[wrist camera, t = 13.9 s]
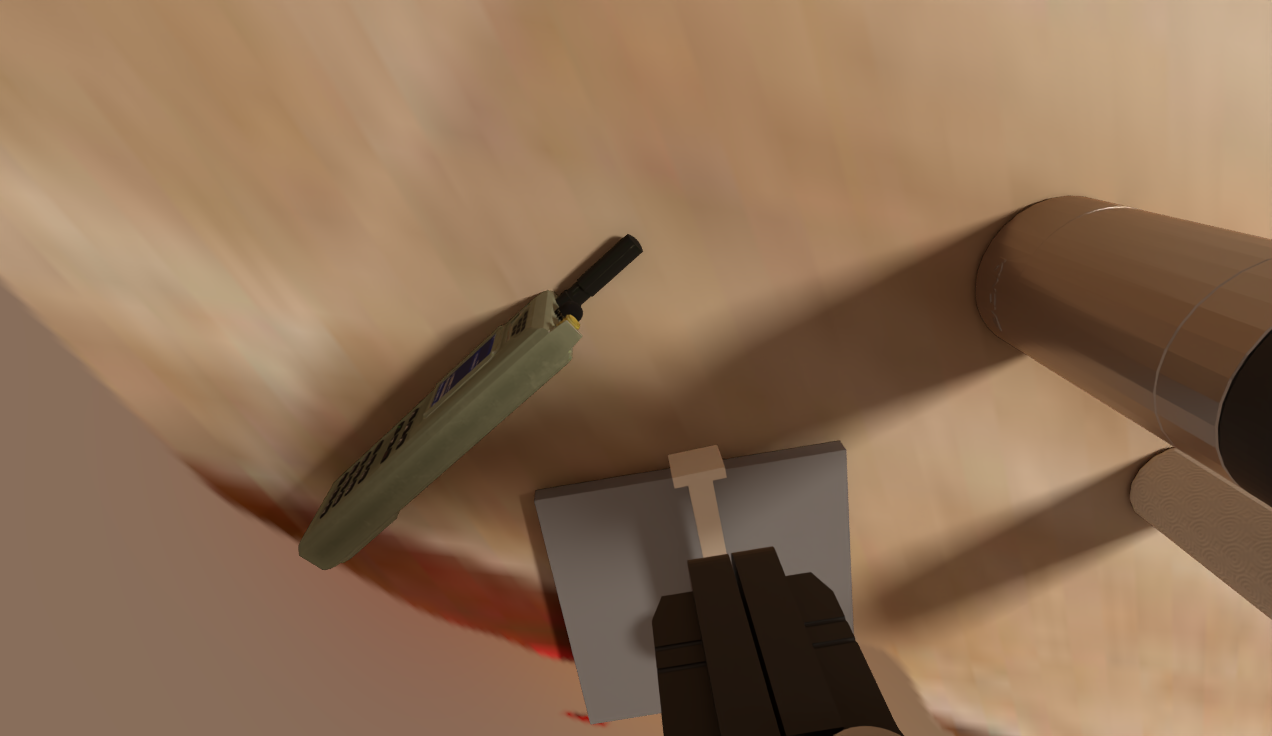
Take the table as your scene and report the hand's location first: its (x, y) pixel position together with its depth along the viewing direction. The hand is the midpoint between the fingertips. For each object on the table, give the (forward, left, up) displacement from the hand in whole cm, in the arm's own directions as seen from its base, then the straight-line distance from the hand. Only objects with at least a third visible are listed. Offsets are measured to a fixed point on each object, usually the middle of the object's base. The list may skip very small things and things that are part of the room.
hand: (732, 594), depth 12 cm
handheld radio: (+10, +7, -30) cm, 32 cm away
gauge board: (-1, +25, -29) cm, 38 cm away
